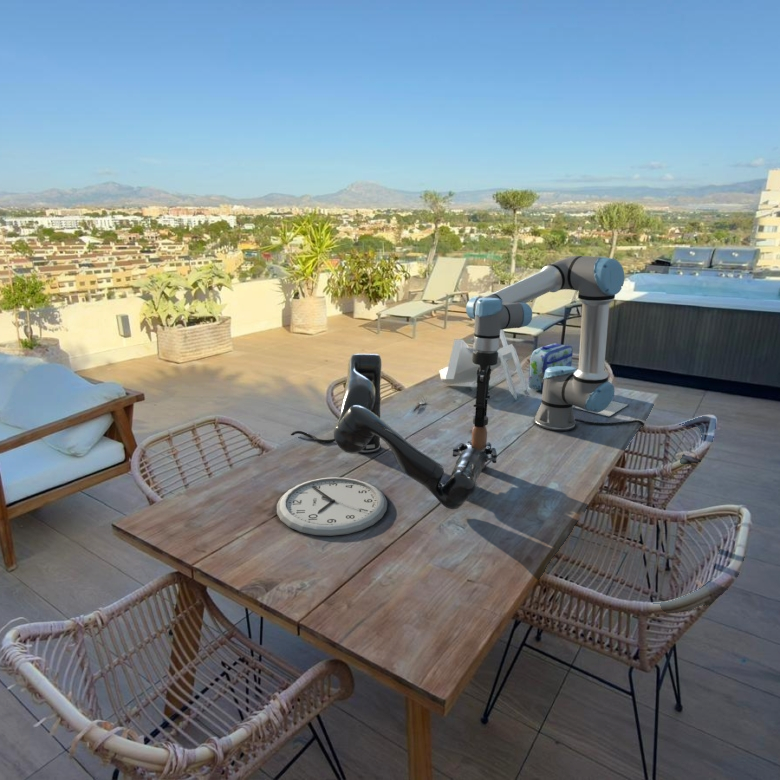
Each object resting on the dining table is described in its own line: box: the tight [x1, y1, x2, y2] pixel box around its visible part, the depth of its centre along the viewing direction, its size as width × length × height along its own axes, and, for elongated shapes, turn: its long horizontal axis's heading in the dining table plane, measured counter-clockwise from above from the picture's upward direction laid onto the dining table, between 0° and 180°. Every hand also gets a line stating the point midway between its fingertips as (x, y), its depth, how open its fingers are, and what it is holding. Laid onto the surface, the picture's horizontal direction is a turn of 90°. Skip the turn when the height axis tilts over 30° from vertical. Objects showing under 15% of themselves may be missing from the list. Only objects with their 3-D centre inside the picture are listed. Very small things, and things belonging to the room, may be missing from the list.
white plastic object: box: [438, 329, 531, 400], centre depth 245 cm, size 37×45×31 cm
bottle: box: [470, 425, 488, 470], centre depth 165 cm, size 5×5×16 cm
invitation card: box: [573, 400, 629, 418], centre depth 226 cm, size 21×1×15 cm
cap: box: [472, 415, 489, 426], centre depth 163 cm, size 5×5×2 cm
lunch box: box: [528, 343, 574, 392], centre depth 249 cm, size 26×11×21 cm, turn 134°
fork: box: [413, 396, 428, 412], centre depth 222 cm, size 3×16×2 cm, turn 160°
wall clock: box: [276, 476, 388, 537], centre depth 142 cm, size 30×2×30 cm
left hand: (480, 443), depth 168 cm, fingers closed on bottle, 4 cm apart
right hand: (480, 422), depth 163 cm, fingers open, 7 cm apart
